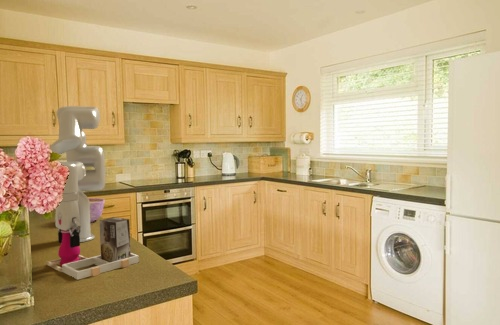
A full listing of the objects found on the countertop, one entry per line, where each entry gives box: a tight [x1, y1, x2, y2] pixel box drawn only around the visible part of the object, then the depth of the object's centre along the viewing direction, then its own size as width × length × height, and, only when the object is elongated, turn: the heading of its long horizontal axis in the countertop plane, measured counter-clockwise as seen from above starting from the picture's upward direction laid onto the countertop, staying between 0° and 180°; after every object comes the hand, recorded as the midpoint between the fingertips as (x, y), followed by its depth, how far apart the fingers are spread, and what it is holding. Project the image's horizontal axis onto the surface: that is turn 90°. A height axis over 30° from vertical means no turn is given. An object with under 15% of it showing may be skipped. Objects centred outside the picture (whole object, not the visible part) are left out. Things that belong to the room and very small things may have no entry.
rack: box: [61, 252, 140, 280], centre depth 132 cm, size 13×22×2 cm, turn 139°
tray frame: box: [46, 254, 88, 273], centre depth 136 cm, size 11×11×1 cm
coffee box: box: [99, 216, 131, 262], centre depth 136 cm, size 9×6×16 cm
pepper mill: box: [57, 219, 81, 267], centre depth 136 cm, size 7×7×20 cm
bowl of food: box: [88, 197, 106, 223], centre depth 209 cm, size 20×20×12 cm
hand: (69, 244), depth 136 cm, fingers open, 9 cm apart
